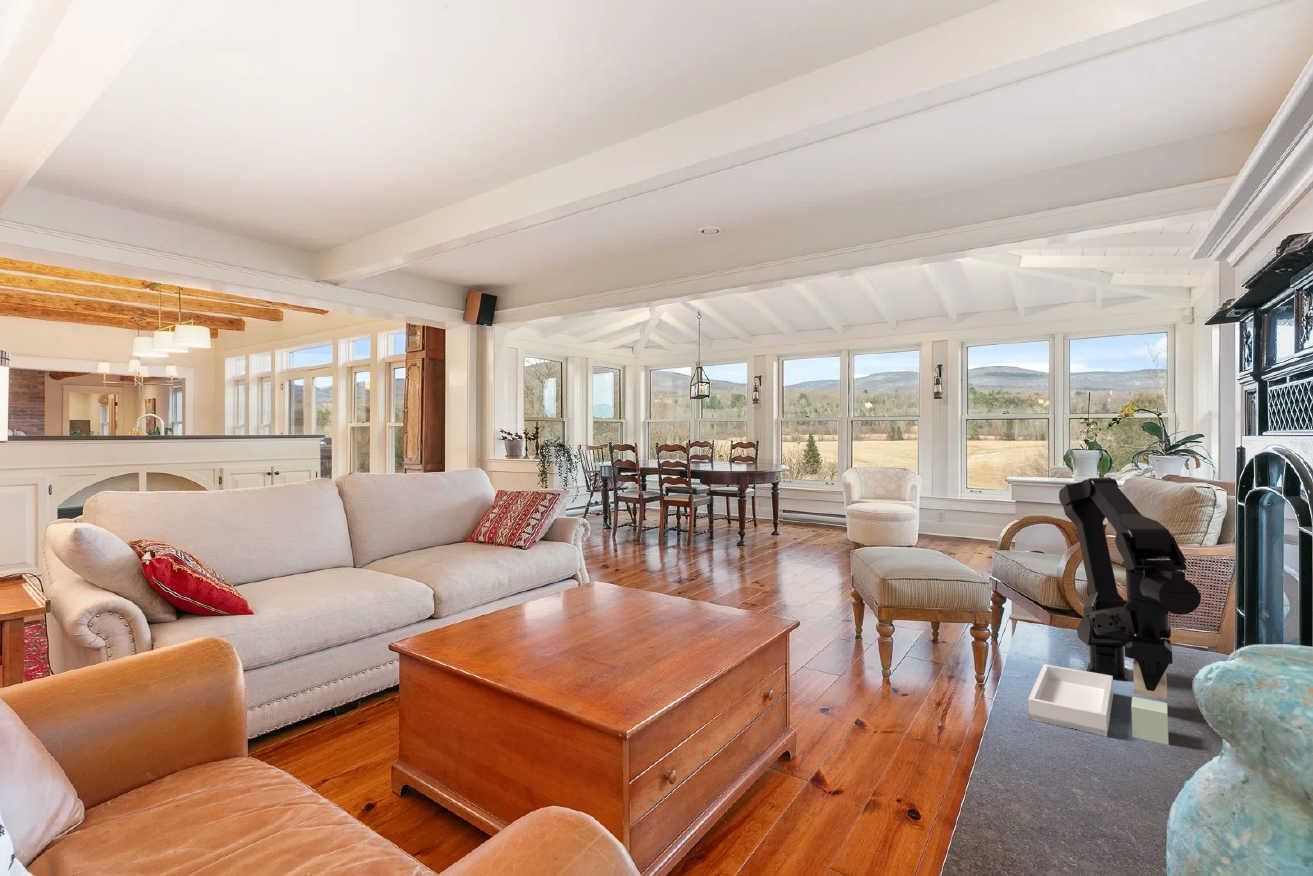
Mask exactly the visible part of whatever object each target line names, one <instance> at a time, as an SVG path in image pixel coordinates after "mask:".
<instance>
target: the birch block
mask: <svg viewBox="0 0 1313 876" xmlns="http://www.w3.org/2000/svg"><path fill="white" fill-rule="evenodd" d="M1132 666H1133V667H1132V668H1133V670H1132V672H1133V693H1134V694H1137V695H1142V696H1146V697H1147V696H1148V697H1153V698H1158V699H1164V700H1168V682H1167V681H1168V678H1167V669H1166V670H1165V672H1164V674H1163V676H1162V678H1161V679H1160V681H1159V683H1158V685H1157V687H1156V689H1155V691H1149V690H1147V689H1146V687H1145V684H1144V680H1143V677H1142V674H1141V670H1140V667H1139V664H1138V662H1137V661H1136V660H1135V659H1133V663H1132Z"/></svg>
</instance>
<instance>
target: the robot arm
mask: <svg viewBox="0 0 1313 876" xmlns="http://www.w3.org/2000/svg"><path fill="white" fill-rule="evenodd" d="M1058 492H1059V493H1058V499H1059V503H1060V505H1062V508H1063V512H1064V514H1065V515H1064V516H1066V517H1067V518H1068V519H1069V520H1070V522H1072V524H1074V525H1075V526H1076V531H1077V536H1078V541H1079V546H1080V550H1081V551H1080V552H1081V557H1082V561H1083V566H1084V572H1085V577H1086V581H1087V587H1088V591H1089V596H1088V598H1087V600H1086V602H1085V604H1084V605H1083V608H1082V609H1083V616H1082V618H1081V620H1080V622H1079V623H1078V625H1077V626H1076V632H1077V638H1078V639H1079V640H1080V641H1081V642H1083V643H1084V644H1085V645H1086V646H1089V649H1088V650H1089V663H1088V666H1087V669H1086V671H1087V672H1093V673H1099V674H1105V675H1110V676H1113V680H1115V681H1116V680H1117V681H1122V682H1126V681H1128V676H1129V669H1128V668H1127V667H1125V666H1126V665H1125V664H1126V663H1125V657H1126V658H1128V659H1132V660H1134V659H1135V660H1136V661H1137V662H1138V664H1139V667H1140V670H1141V674H1142V677H1143V680H1144V684H1145V687H1146V689H1147V690H1149V691H1155V689H1156V687H1157V685H1158V683H1159V681H1160V679H1161V678H1162V676H1163V674H1164V672H1165V670H1166V671H1167V669H1168V668H1169V665H1173V664H1174V663H1173V646H1172V645H1171V643H1172V642H1171V640H1170V638H1171V637H1172V631H1171V629H1172V628H1171V627H1172V625H1171V622H1170V620H1169V619H1170V616H1169V615H1170V614H1171V613H1172V614H1175V615H1181V616H1183V615H1188V614H1191V613H1192V612H1194V611H1196V609H1197V608H1198V607H1199V606H1200V603H1201V602H1202V601H1201V599H1202V595H1201V593H1200V592H1199V589H1198V587H1197V586H1196V585H1195V584H1194V583H1192V581H1189V580H1186V573H1185V572H1184V571H1187V569H1188V568H1187V565H1186V561H1187V559H1186V558H1185V556H1184V553H1183V552H1182V550H1181V548H1180V546H1179V544H1178V543H1177V541H1176V538H1175V537H1174V535H1173V534H1172V533H1171V531H1170V530H1169V529H1168V528H1167V527H1165V526H1164V525H1163V524H1162V523H1160V522H1159V521H1158V520H1155V519H1152V518H1150V517H1146V516H1144V515H1143V514H1142V513H1141V512H1140V511H1139V510H1138V509H1137V507H1136V506H1135V505H1134V504H1133V503H1132V501H1131V500H1130V499H1129V498H1128V497H1127V496H1126V495H1125V494H1124V493H1123V491H1122V489H1120V488H1119V484H1118V481H1117V480H1116V479H1115V478H1111V477H1089V478H1087V479H1083V480H1082V481H1079V482H1075V483H1066V484H1065V485H1064V486H1063V487H1062V488H1061V489H1060V490H1059V491H1058ZM1105 519H1106V520H1107V521H1108V522H1109V524H1110V525H1111V526H1112V528H1113V529H1114V530H1115V532H1116V533H1115V538H1114V543H1115V546H1116V549H1117V551H1118V552H1119V554H1120V556H1121V557H1122V559H1123V561H1122V562H1121V565H1122V566H1123V567H1125V582H1126V599H1124V598H1123V597H1122V595H1120V593H1119V591H1118V586H1117V582H1116V578H1115V573H1114V568H1113V564H1112V559H1111V554H1110V549H1109V544H1108V539H1107V536H1106V535H1107V534H1106V530H1105V526H1104V521H1105ZM1169 612H1170V613H1169Z"/></svg>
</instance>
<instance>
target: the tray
mask: <svg viewBox="0 0 1313 876" xmlns="http://www.w3.org/2000/svg"><path fill="white" fill-rule="evenodd" d="M1041 667H1042V668H1041V669H1040V672H1039V674H1038V676H1037V679H1036V680H1035V683H1034V685H1033V687H1032V689H1031V692H1030V694H1029V696H1028V698H1027V703H1028V704H1027V705H1028V706H1027V707H1028V708H1027V709H1028V720H1032V721H1034V722H1041V723H1044V724H1048V723H1049V724H1048V725H1053V726H1057V725H1058V726H1059V727H1062V728H1065V729H1071V728H1073V729H1072V730H1075V729H1077V730H1076V731H1079V730H1080V731H1081V732H1084V733H1088V732H1089V733H1088V734H1093V733H1094V734H1093V735H1097V734H1098V735H1097V736H1102V737H1108V731H1109V727H1110V726H1109V725H1110V721H1111V720H1110V719H1111V712H1112V706H1113V699H1114V679H1113V676H1110V675H1105V674H1099V673H1093V672H1087V670H1081V669H1076V668H1071V667H1070V668H1069V667H1064V666H1059V665H1058V666H1057V665H1053V664H1052V665H1051V664H1048V663H1047V664H1046V663H1043V665H1042V666H1041Z"/></svg>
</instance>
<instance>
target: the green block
mask: <svg viewBox="0 0 1313 876" xmlns="http://www.w3.org/2000/svg"><path fill="white" fill-rule="evenodd" d="M1130 707H1131V708H1130V709H1131V729H1132V730H1131V733H1132V735H1131V736H1132V738H1136V739H1141V740H1146V741H1148V742H1149V741H1150V742H1154V743H1159V744H1162V745H1168V746H1169V745H1170V744H1169V721H1168V719H1169V716H1168V703H1167V702H1164V701H1158V700H1153V699H1148V698H1143V697H1138V696H1132V698H1131V705H1130Z"/></svg>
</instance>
